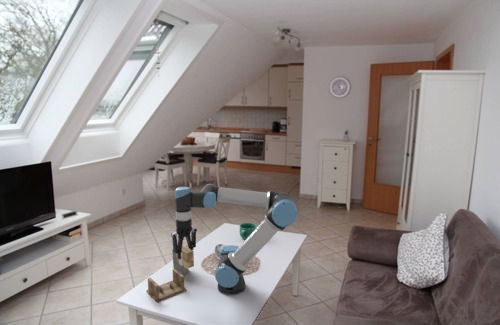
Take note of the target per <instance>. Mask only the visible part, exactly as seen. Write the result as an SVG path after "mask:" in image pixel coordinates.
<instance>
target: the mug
mask: <svg viewBox="0 0 500 325" xmlns="http://www.w3.org/2000/svg"><path fill="white" fill-rule="evenodd" d="M257 227H258V225H257V224H255V223H254V222H253V223H252V222H244V223H241V224H240V225H239V236H240V238H242V239H244V240H246V239H247V238H248V237H249V235H250V234H251V233H252V232H253V231H254V230H255V229H256V228H257Z"/></svg>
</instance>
